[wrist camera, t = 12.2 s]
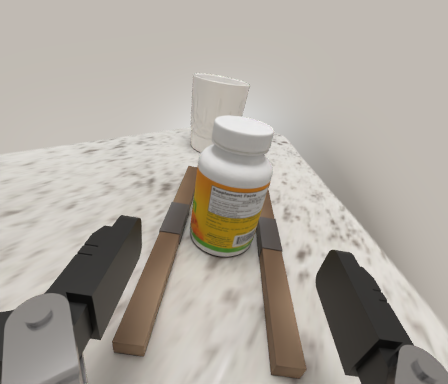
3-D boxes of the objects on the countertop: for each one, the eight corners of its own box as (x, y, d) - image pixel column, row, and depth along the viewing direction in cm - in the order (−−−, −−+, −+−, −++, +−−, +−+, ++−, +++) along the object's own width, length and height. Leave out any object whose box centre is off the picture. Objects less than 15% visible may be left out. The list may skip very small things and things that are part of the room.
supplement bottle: (197, 210, 23) (211, 107, 18) (252, 223, 23) (282, 122, 18) (181, 250, 18) (194, 125, 13) (249, 265, 18) (289, 145, 13)
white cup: (222, 138, 42) (233, 77, 37) (245, 156, 37) (261, 87, 32) (180, 138, 39) (185, 70, 34) (197, 159, 33) (207, 81, 28)
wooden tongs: (112, 352, 12) (111, 340, 11) (187, 173, 29) (188, 165, 28) (300, 378, 12) (308, 368, 12) (264, 186, 29) (266, 178, 29)
